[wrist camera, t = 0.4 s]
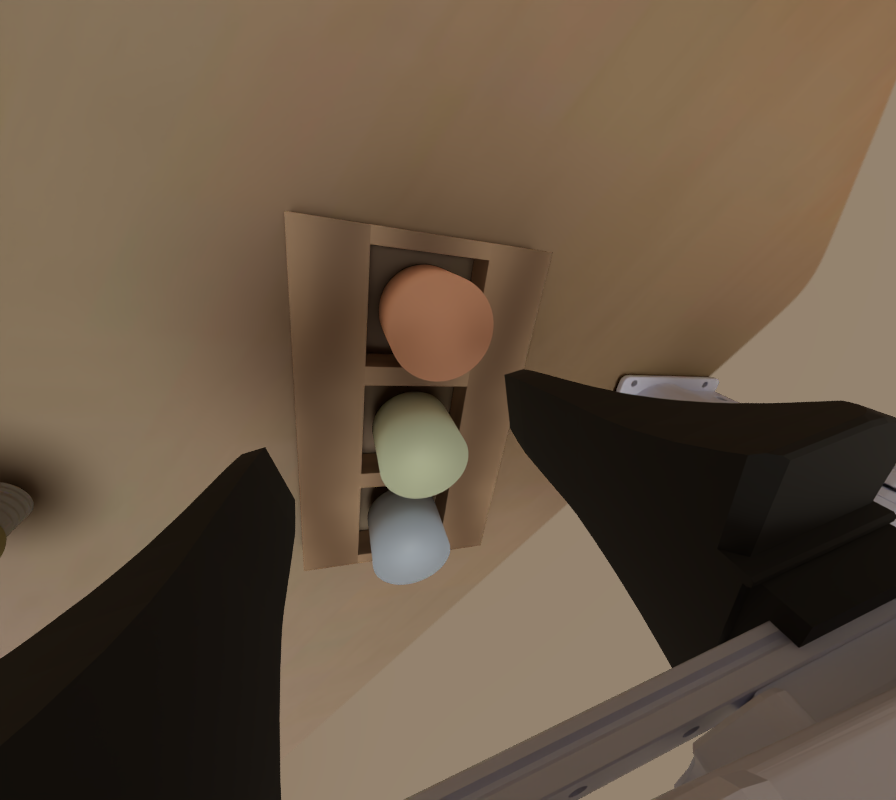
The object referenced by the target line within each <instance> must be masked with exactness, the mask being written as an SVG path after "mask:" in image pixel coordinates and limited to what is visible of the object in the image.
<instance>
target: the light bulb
mask: <svg viewBox="0 0 896 800" xmlns="http://www.w3.org/2000/svg"><path fill="white" fill-rule="evenodd" d="M33 507H34V502H33V500H32V498H31V497H30V495H29V494H28V493H26V492H25V491H24V490H22V489H21V488H20V487H18V486H15V485H11V484H7V483H2V482H0V557H1V555H2V554H3V552H4V549H5V546H6V537H7V536H8V535H9V534H10V533H11V532H12V530H14V529H15V528H16V527H17V526H18V525H19V524H20V523H21V522H22V521H23V520H24V519H25V518H26V517H27V516H28V515H29V514H30V513H31V512H32V510H33Z"/></svg>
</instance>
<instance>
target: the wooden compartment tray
mask: <svg viewBox="0 0 896 800" xmlns="http://www.w3.org/2000/svg"><path fill="white" fill-rule="evenodd" d="M284 218H285V236H286V254H287V272H288V290H289V308H290V326H291V344H292V362H293V381H294V399H295V417H296V435H297V453H298V471H299V489H300V507H301V525H302V544H303V562H304V571H308V570H315V569H322V568H328V567H335V566H342V565H349V564H356V563H363V562H370V561H372V552H371V544H370V535H369V530H364V531H359V515H360V489H361V488H367V487H380V486H386V485H385V484H384V482H383V481H382V478H381V475H380V470H379V465H378V459H377V454H376V453H365V454H362V439H363V413H364V388H365V385H370V386H454V389H453V396H452V402H451V408H450V414H449V415H450V417H451V418H452V420H453V422H454V423H455V425H456V427H457V428H458V430H459V432H460V433H461V435H462V437H463V438H464V440H465V442H466V444H467V447H468V462H467V465H466V468H465V470H464V472H463V474H462V475H461V476H460V478H459V479H458V480H457V481H456V482H455V483H454V484H453V485H452V486H451V487H449V488H448V489H446V490H445V491H443V492H441V493H439V494H437V496H436V503H435V504H436V507H437V510H438V513H439V516H440V518H441V521H442V524H443V527H444V529H445V532H446V535H447V538H448V541H449V544H450V550H452V549H458V548H465V547H472V546H479V545H481V541H482V537H483V533H484V529H485V524H486V520H487V516H488V512H489V508H490V504H491V500H492V496H493V492H494V488H495V484H496V480H497V476H498V472H499V468H500V464H501V460H502V456H503V452H504V447H505V443H506V439H507V435H508V431H509V427H510V422H509V413H508V404H507V395H506V386H505V377H504V375H505V374H509V373H512V372H515V371H518V370H522V369H524V366H525V362H526V358H527V354H528V350H529V346H530V342H531V338H532V334H533V330H534V326H535V322H536V318H537V314H538V310H539V306H540V302H541V298H542V293H543V289H544V285H545V281H546V277H547V273H548V269H549V265H550V261H551V257H552V253H553V252H546V251H540V250H533V249H527V248H521V247H514V246H508V245H501V244H495V243H488V242H482V241H475V240H469V239H462V238H456V237H450V236H443V235H437V234H430V233H424V232H417V231H411V230H404V229H398V228H392V227H385V226H379V225H372V224H366V223H359V222H353V221H346V220H340V219H334V218H327V217H321V216H314V215H308V214H301V213H295V212H288V211H284ZM370 244H373V245H380V246H388V247H395V248H402V249H409V250H417V251H424V252H431V253H439V254H446V255H453V256H460V257H468V258H474V264H473V270H472V276H471V282H472V283H473V284H475V285H476V286H477V287H478V288H479V289H480V290H481V291H482V292H483V294H484V295H485V296H486V298H487V300H488V302H489V304H490V306H491V309H492V313H493V321H494V328H493V335H492V339H491V342H490V345H489V348H488V350H487V351H486V353H485V355H484V356H483V358H482V359H481V360H480V362H479V363H478V364H477V365H476V366H475V367H474V368H473V369H471V370H470V371H469V372H467V373H466V374H464V375H462V376H460V377H458V378H455V379H452V380H448V381H440V382H434V381H427V380H423V379H420V378H417V377H415V376H414V375H412V374H410V373H409V372H407V371H406V370H405V369H404V368H403V367H402V366H401V365H400V364H399V362H398V361H397V359H396V358H395V356H394V354H369V353H366V337H367V312H368V286H369V261H370Z"/></svg>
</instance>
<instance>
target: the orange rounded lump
mask: <svg viewBox="0 0 896 800" xmlns="http://www.w3.org/2000/svg"><path fill="white" fill-rule="evenodd" d="M379 320H380V324H381V327H382V329H383V332H384V334H385V336H386V338H387V341H388V343H389V345H390V347H391V349H392V352H393V354H394V356H395V358H396V359H397V361H398V362H399V364H400V365H401V366H402V367H403V368H404V369H405V370H406V371H407V372H409V373H410V374H412V375H414V376H415V377H417V378H420V379H423V380H427V381H434V382H440V381H448V380H452V379H455V378H458V377H460V376H462V375H464V374H466V373H467V372H469V371H470V370H471V369H473V368H474V367H475V366H476V365H477V364H478V363H479V362H480V360H481V359H482V358H483V356H484V355H485V353H486V351H487V350H488V348H489V345H490V342H491V339H492V335H493V328H494V321H493V313H492V309H491V306H490V304H489V302H488V300H487V298H486V296H485V295H484V294H483V292H482V291H481V290H480V289H479V288H478V287H477V286H476V285H475V284H473V283H472V282H470V281H468V280H467V279H465V278H462V277H460V276H458V275H456V274H453V273H451V272H449V271H447V270H444V269H442V268H440V267H437V266H433V265H427V264H421V265H414V266H410V267H408V268H405V269H403V270H402V271H400V272H399V273H397V274H396V275H395V276H394V277H393V278H392V279H391V280H390V281H389V282H388V283H387V285H386V286H385V288H384V290H383V292H382V295H381V298H380V302H379Z"/></svg>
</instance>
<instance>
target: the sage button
mask: <svg viewBox="0 0 896 800" xmlns="http://www.w3.org/2000/svg"><path fill="white" fill-rule="evenodd" d="M372 432H373V438H374V443H375V448H376V454H377V459H378V465H379V470H380V475H381V478H382V481H383V482H384V484H385V485H386V487H387V488H388V489H389V490H390V491H392V492H393V493H395V494H397V495H399V496H402V497H405V498H413V499H419V498H427V497H431V496H434V495H437V494H439V493H441V492H443V491H445V490H446V489H448V488H449V487H451V486H452V485H453V484H454V483H455V482H456V481H457V480H458V479H459V478H460V476H461V475H462V474H463V472H464V470H465V468H466V465H467V462H468V447H467V444H466V442H465V440H464V438H463V437H462V435H461V433H460V432H459V430H458V428H457V427H456V425H455V423H454V422H453V420H452V418H451V417H450V415H449V413H448V411H447V410H446V408H445V406H444V405H443V404H442V402H441V401H440V400H438V399H437V398H436V397H434V396H432V395H430V394H427V393H424V392H406V393H402V394H399V395H397V396H395V397H393V398H391V399H389V400H388V401H387V402H386V403H384V404H383V405H382V406H381V408H380V409H379V410H378V412H377V414H376V416H375V418H374V421H373V426H372Z"/></svg>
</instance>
